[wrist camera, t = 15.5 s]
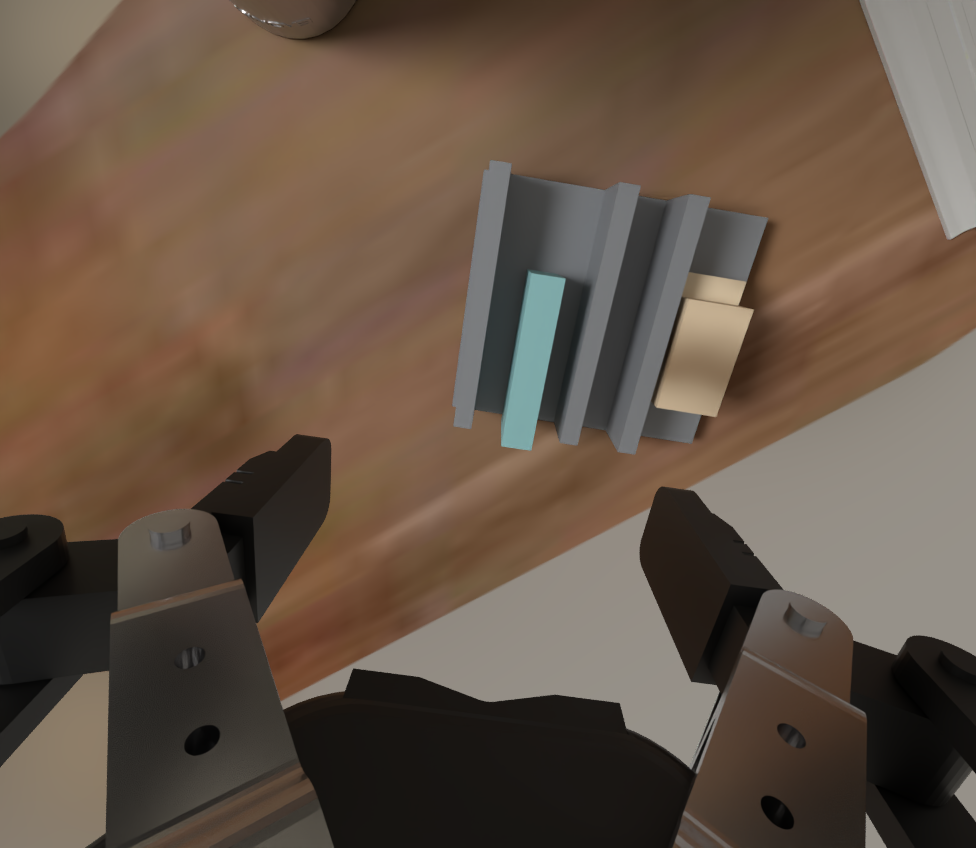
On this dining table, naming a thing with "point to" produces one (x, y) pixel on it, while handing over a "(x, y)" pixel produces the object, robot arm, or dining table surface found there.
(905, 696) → the robot arm
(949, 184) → the baseboard molding
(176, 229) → the dining table surface
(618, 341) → the rack
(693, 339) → the offcut top
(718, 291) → the block
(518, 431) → the teal slat
